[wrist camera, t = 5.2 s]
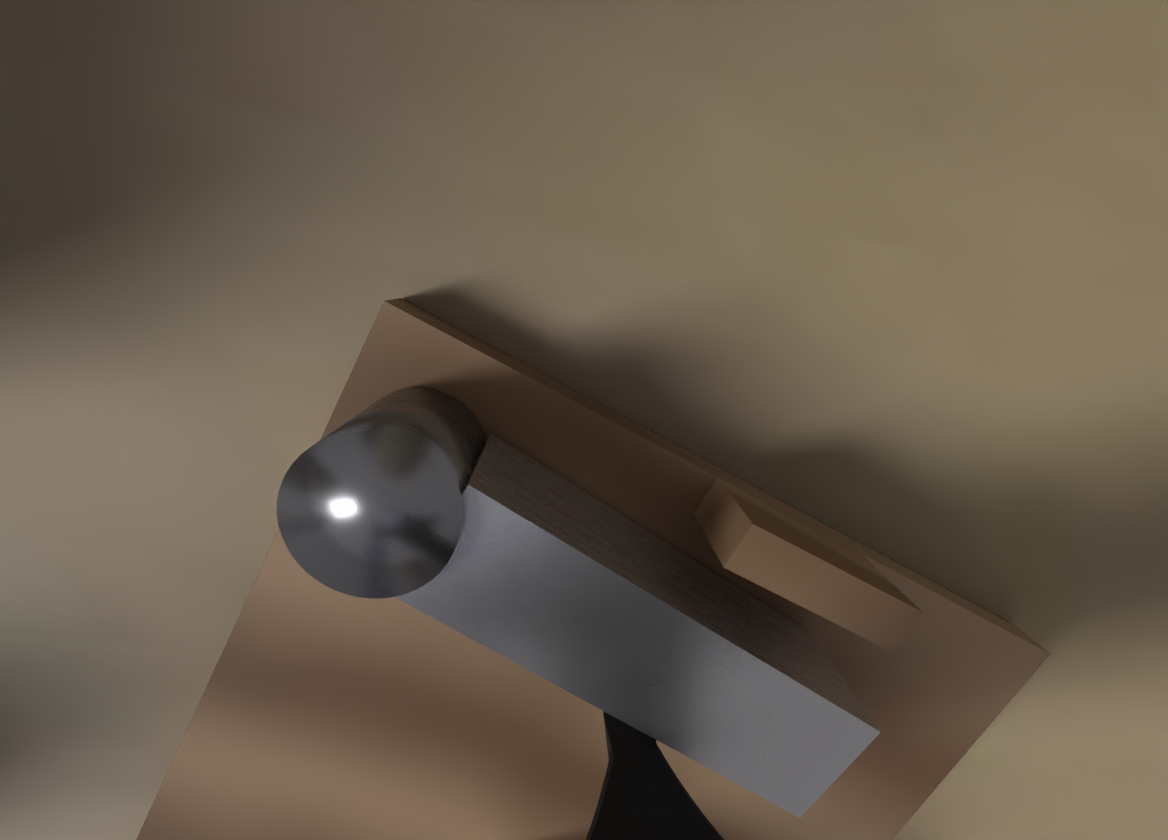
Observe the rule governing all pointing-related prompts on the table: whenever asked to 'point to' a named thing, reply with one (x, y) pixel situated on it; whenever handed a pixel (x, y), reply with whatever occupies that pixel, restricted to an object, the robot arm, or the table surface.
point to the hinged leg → (569, 593)
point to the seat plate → (529, 702)
